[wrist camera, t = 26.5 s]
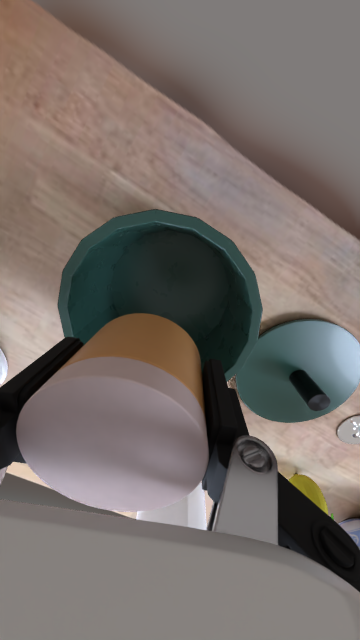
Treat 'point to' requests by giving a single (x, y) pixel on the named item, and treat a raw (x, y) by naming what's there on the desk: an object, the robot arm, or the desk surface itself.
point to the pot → (164, 283)
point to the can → (181, 511)
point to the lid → (300, 371)
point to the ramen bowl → (352, 529)
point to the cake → (121, 419)
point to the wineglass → (350, 430)
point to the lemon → (310, 491)
